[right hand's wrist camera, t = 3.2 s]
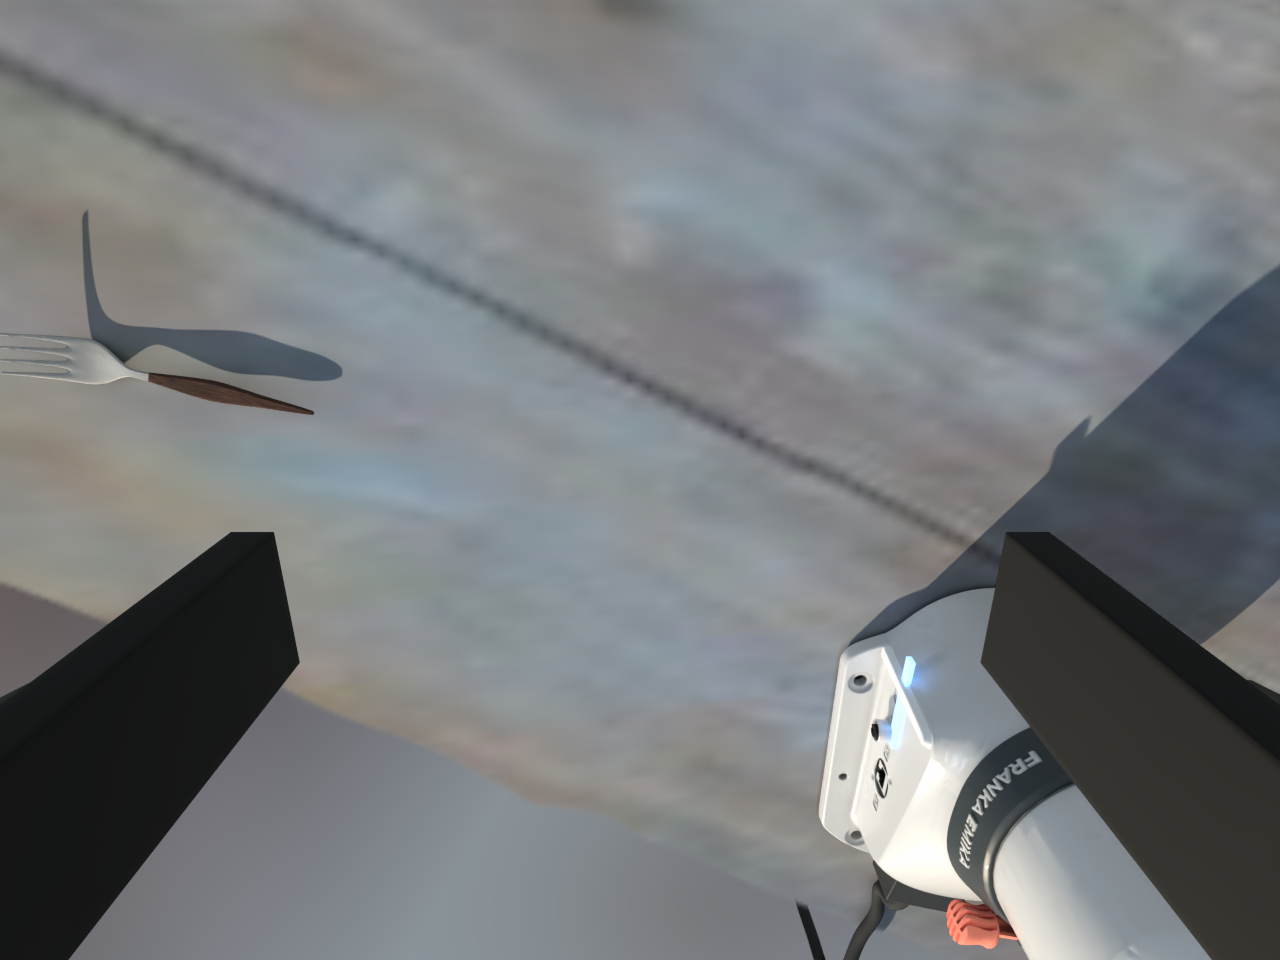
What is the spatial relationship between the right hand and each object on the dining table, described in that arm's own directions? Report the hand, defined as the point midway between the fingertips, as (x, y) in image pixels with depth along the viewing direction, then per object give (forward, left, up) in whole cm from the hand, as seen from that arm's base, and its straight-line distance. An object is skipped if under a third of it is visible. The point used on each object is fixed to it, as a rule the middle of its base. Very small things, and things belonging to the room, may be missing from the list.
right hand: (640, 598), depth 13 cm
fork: (+2, -26, -28) cm, 38 cm away
